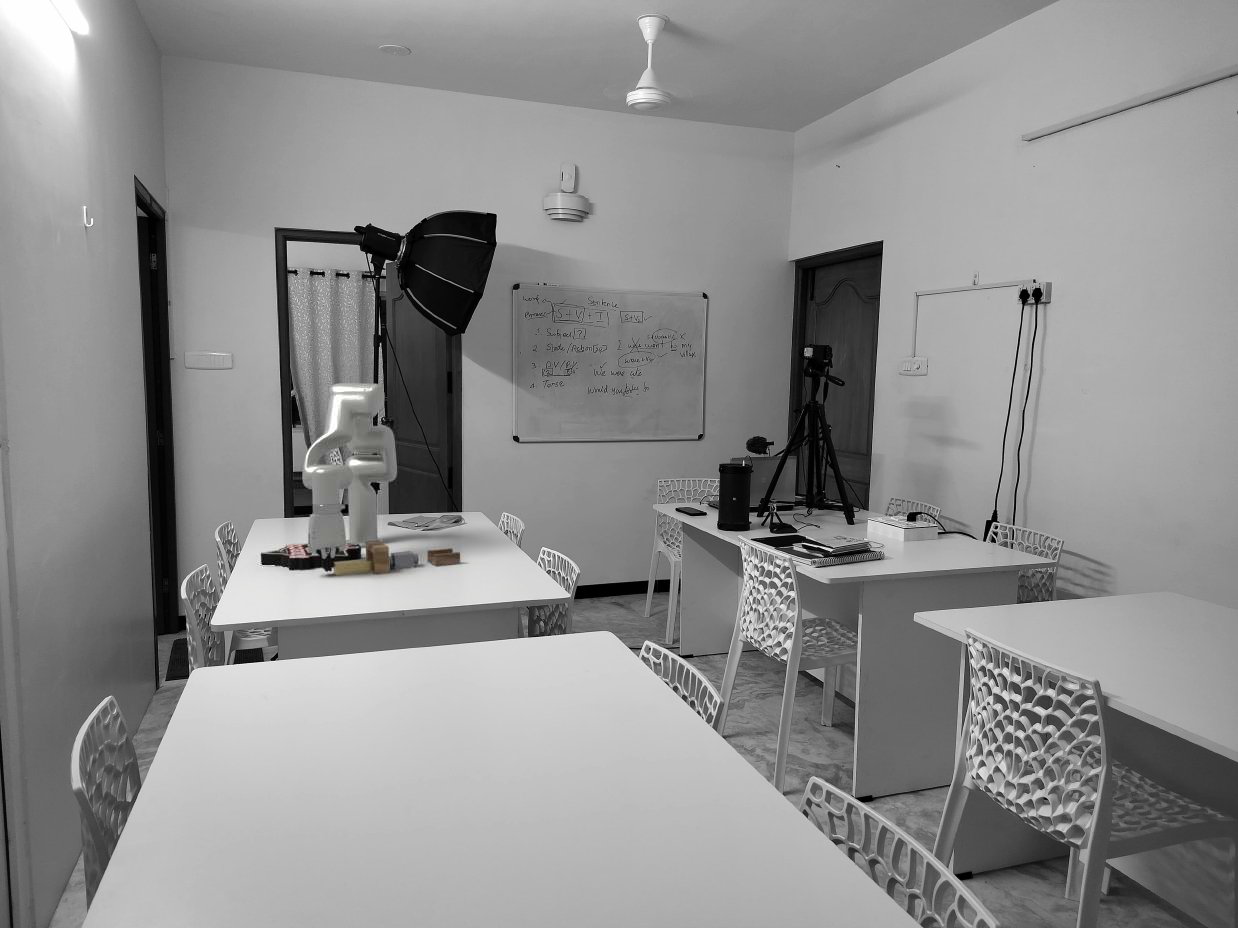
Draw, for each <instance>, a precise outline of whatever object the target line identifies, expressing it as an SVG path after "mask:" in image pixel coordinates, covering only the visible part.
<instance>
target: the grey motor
mask: <svg viewBox="0 0 1238 928" xmlns="http://www.w3.org/2000/svg"><path fill="white" fill-rule="evenodd" d="M389 559H390V568H392V569H394V570H396V569H397V570H405V569H404V568H406V569H412V568H411V567H414V568H415V565H418V564H419V554H418V553H413V552H412V551H411V550H409V551H408V550H407V551H398V552H391V553H390V555H389Z"/></svg>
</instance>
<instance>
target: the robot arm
mask: <svg viewBox="0 0 1238 928" xmlns="http://www.w3.org/2000/svg"><path fill="white" fill-rule="evenodd" d="M384 403H385V392H384V388H383V387H382V385H380V384H378V383H362V382H361V383H353V382H349V383H348V382H341V383H339V382H338V383H334V384H332V385H331V386H330V387H329V400H328V407H327V413H326V418H325V420H326V421H325V425H324V432H323V434H322V435H321V436H320V437H318V438H317V439H316V440H315V441H314V442H313V443H312V444H311V446H310V447H309V448H308V450H307V451H306V453H305V456H304V461H303V468H302V477H301V478H302V484H303V485H304V487H305V488H307V489H309V490H312V514H309V518H308V519H309V520H308V529H307V543H308V544H309V549H308V551H309V552H310V553H317V554H318V555H320V556H321V557H322V569H323V570H324V572H326V573H328V572H332V571H333V568H334V560H333V558H334V557H335V555H336V554H337V553H338V552H339V551H342V550H345V549H346V544H345V543H350V544H351V543H357V544H359V546H361V548H366V541H377V540H379V541H380V542H382V543H383V539H382V538H379V537H378V498H377V493H376V490H375V489H374V487H373V486H372V485H371V484H370V483H390V482H393V481H395V480H396V478H397V475H398V465H397V463H398V462H397V451H396V441H395V435H394V432H393V430H392V429H391V428H390V427H388V426H385V425H384V426H383V425H372V424H371V419H372V418H374V417H376V415H377V414H378V413H379V411H380V410H381V409H382V407H383V405H384ZM345 445H346V446H347V449H348V450H349V451H350V452H351V453H352V454H353V453H354V454H357V455H352V456H349V457H348V458H347V459H346V461H345V463H344V464H317V463H318V461H319V460H320V458H322V456H324V455H325V454H327V453H328V452H330V451H333V450H336V449H338V448H340V447H343V446H345ZM376 454H377V455H376ZM345 489H347V494H348V498H347V499H348V532H349V534H348V535H349V536H348V537H349V538H348V539H346V537H347V534H346V526H345V520H344V519H345V518H344V515H343V513H342V512H341V511H342V510H345V509H346V505H345V504H342V503H340V501H341V500H340V499H341V498H340V490H345ZM325 548H330V549H329V555H328V557H327V556H326V551H325Z"/></svg>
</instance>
